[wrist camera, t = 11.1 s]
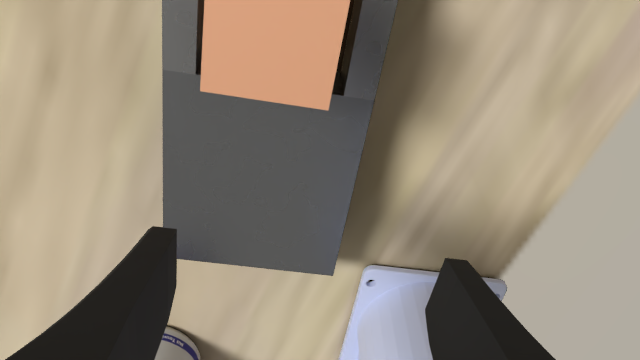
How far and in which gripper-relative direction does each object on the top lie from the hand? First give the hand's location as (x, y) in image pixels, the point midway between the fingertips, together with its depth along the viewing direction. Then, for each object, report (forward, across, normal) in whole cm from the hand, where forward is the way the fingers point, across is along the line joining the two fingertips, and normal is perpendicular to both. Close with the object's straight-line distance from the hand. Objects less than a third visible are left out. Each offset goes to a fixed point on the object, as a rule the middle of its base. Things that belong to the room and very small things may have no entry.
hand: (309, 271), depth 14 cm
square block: (+11, +2, -5) cm, 12 cm away
